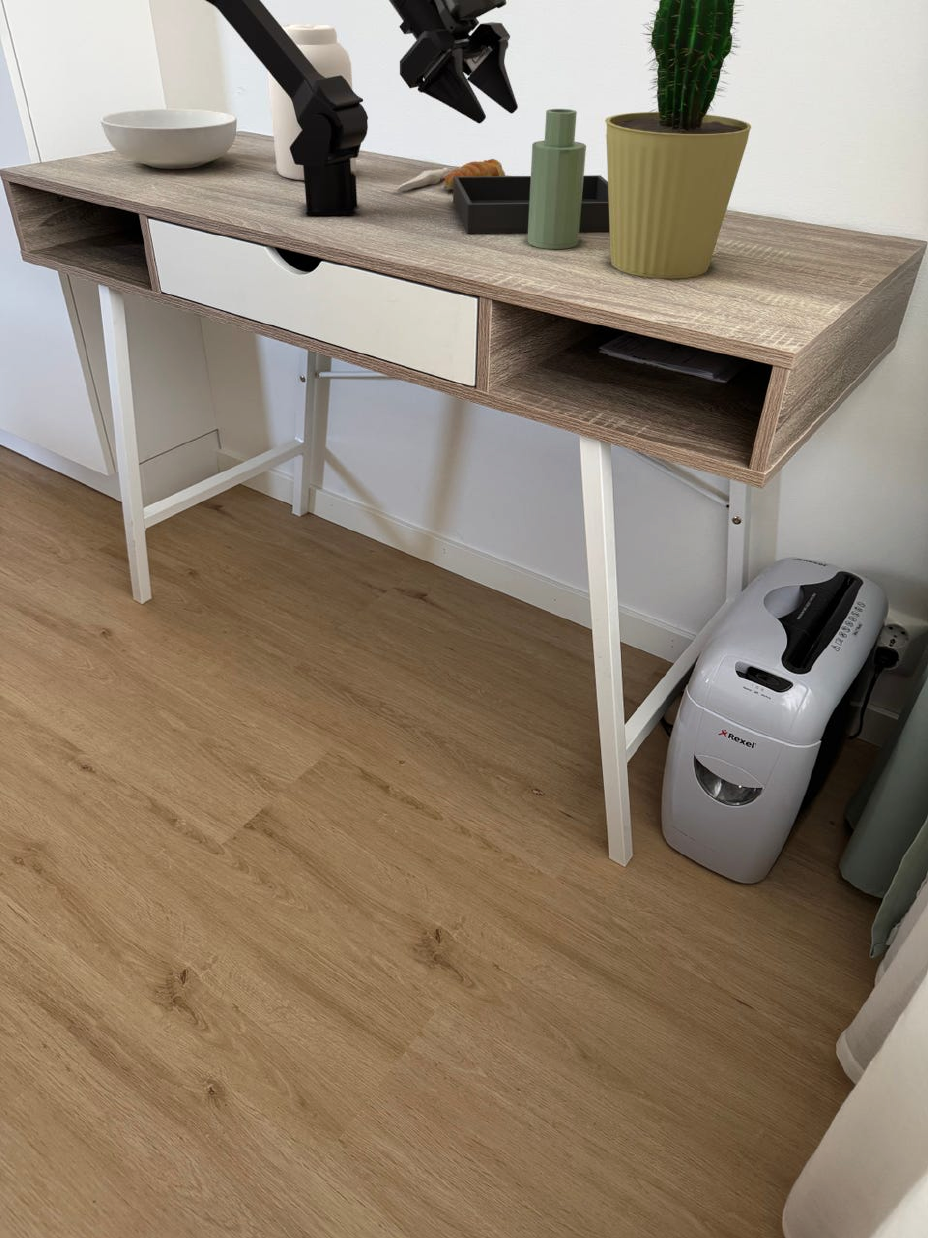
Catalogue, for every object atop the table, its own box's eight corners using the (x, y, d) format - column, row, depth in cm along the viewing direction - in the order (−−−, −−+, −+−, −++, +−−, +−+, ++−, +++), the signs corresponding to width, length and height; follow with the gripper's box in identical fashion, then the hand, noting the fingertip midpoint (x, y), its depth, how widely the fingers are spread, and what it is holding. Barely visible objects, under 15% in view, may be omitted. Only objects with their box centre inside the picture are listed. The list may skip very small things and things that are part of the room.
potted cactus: (591, 244, 115) (618, -56, 97) (717, 249, 113) (768, -53, 96) (592, 280, 102) (624, -56, 84) (734, 286, 101) (796, -53, 83)
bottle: (532, 249, 112) (540, 114, 104) (523, 236, 117) (530, 106, 109) (582, 248, 113) (593, 114, 104) (571, 235, 118) (582, 106, 109)
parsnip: (439, 177, 147) (439, 164, 146) (454, 178, 146) (454, 165, 145) (389, 194, 137) (388, 180, 135) (404, 196, 136) (404, 182, 134)
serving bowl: (226, 178, 143) (219, 128, 139) (91, 175, 143) (81, 125, 139) (252, 153, 160) (247, 108, 156) (132, 151, 160) (124, 106, 156)
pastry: (461, 196, 135) (461, 168, 133) (433, 189, 139) (433, 161, 137) (510, 188, 140) (511, 161, 138) (481, 181, 144) (482, 154, 142)
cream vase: (280, 183, 141) (265, 27, 129) (274, 167, 151) (260, 21, 139) (362, 180, 143) (355, 27, 131) (351, 165, 153) (343, 21, 141)
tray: (467, 233, 118) (467, 204, 116) (453, 203, 132) (453, 176, 130) (629, 231, 120) (632, 202, 118) (598, 201, 134) (600, 175, 132)
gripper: (424, -62, 95) (514, 72, 98) (499, -60, 109) (577, 57, 112) (361, 23, 103) (447, 145, 106) (439, 15, 116) (513, 123, 119)
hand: (499, 115), depth 110 cm, fingers open, 9 cm apart
